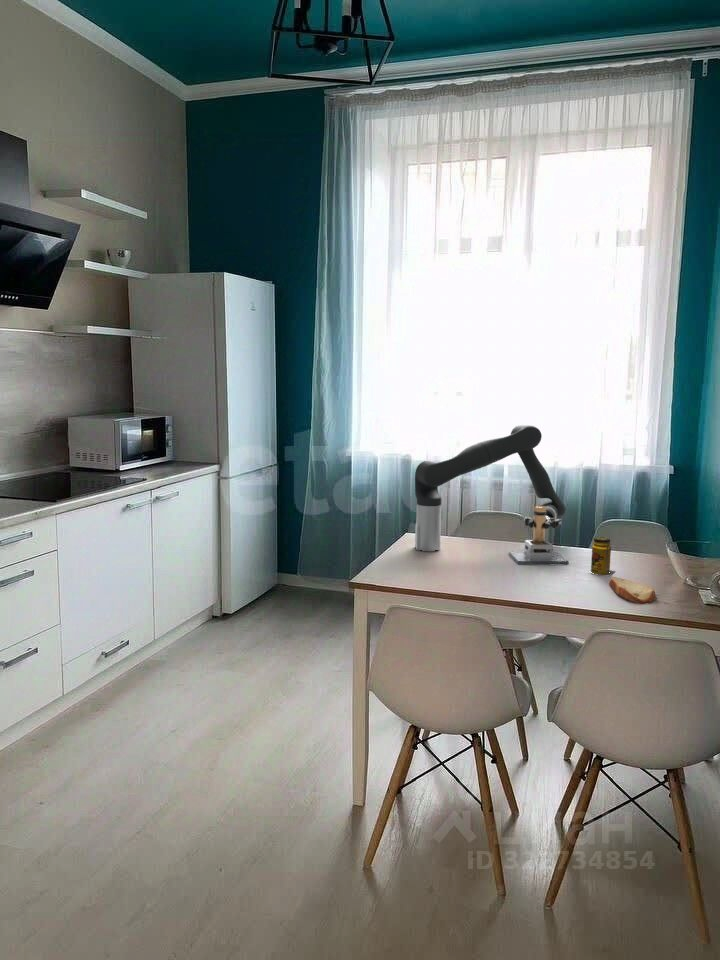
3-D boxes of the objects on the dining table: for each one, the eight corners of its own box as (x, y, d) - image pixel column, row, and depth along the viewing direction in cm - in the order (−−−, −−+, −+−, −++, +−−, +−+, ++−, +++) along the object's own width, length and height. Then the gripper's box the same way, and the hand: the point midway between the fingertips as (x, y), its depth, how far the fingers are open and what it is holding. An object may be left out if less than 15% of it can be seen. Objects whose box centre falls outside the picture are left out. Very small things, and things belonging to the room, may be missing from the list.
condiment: (586, 573, 248) (588, 538, 246) (594, 568, 255) (596, 534, 253) (608, 577, 244) (610, 541, 242) (615, 571, 251) (618, 537, 249)
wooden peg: (533, 557, 263) (536, 508, 261) (530, 554, 268) (532, 505, 265) (545, 557, 263) (548, 508, 261) (542, 554, 268) (544, 506, 265)
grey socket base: (517, 564, 258) (518, 547, 257) (508, 554, 272) (509, 538, 271) (568, 564, 259) (569, 547, 258) (556, 554, 273) (557, 538, 272)
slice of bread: (613, 582, 239) (614, 571, 239) (669, 594, 227) (670, 582, 227) (588, 593, 226) (588, 581, 226) (646, 607, 214) (647, 594, 214)
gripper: (526, 505, 279) (518, 513, 263) (565, 508, 274) (559, 517, 258) (525, 525, 280) (517, 534, 264) (564, 528, 275) (558, 538, 259)
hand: (538, 525), depth 261 cm, fingers open, 4 cm apart
